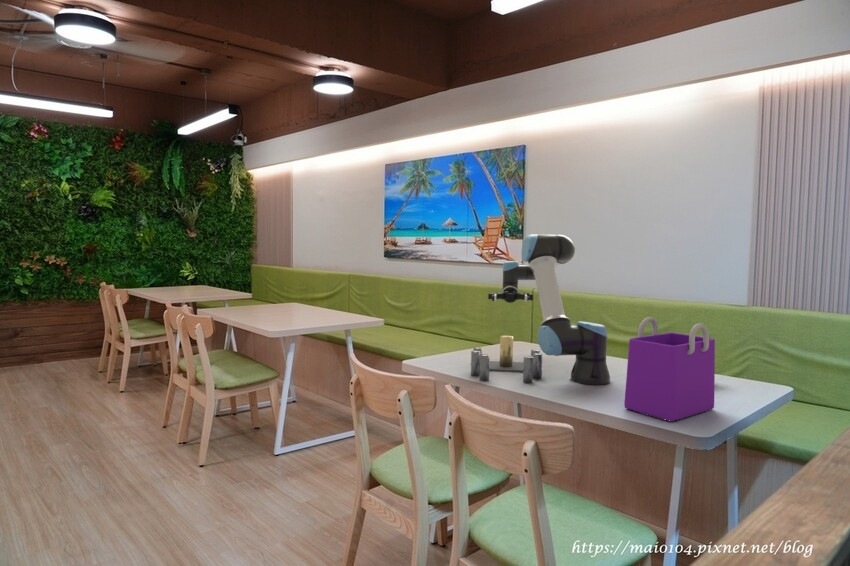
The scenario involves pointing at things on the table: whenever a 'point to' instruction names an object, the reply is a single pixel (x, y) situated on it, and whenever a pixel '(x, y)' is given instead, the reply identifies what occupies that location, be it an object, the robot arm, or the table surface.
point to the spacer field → (530, 367)
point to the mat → (515, 367)
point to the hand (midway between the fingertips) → (510, 298)
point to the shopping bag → (670, 373)
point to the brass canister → (506, 351)
